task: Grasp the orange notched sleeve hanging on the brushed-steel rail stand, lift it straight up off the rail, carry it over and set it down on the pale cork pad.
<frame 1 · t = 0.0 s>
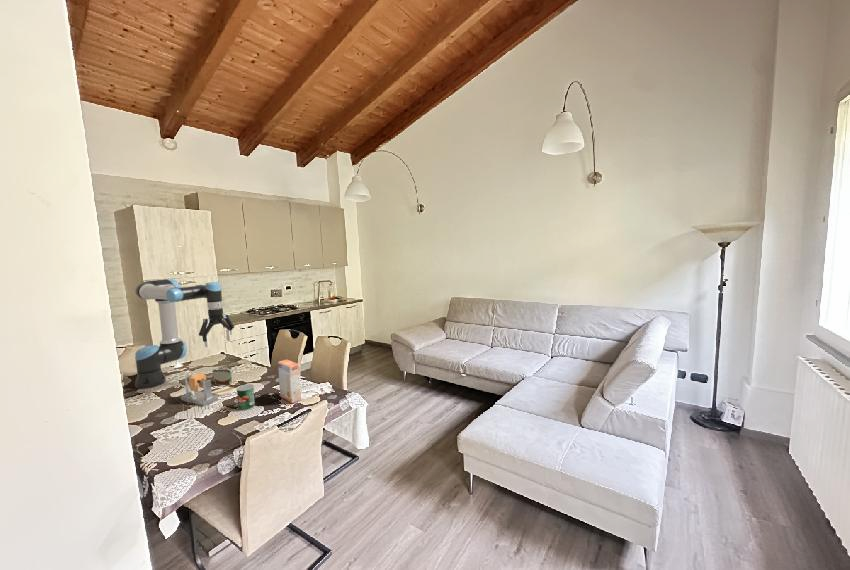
hand: (218, 343, 204), 28 cm above the table, fingers open, 13 cm apart
orange notched sleeve: (198, 388, 192), point 6 cm above the table, touching rail stand
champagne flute: (177, 366, 247), on the table
pad: (223, 391, 204), on the table
food container: (225, 383, 216), on the table
cracker box: (290, 398, 193), on the table
canned tomato: (246, 407, 184), on the table
rail stand: (199, 400, 193), on the table
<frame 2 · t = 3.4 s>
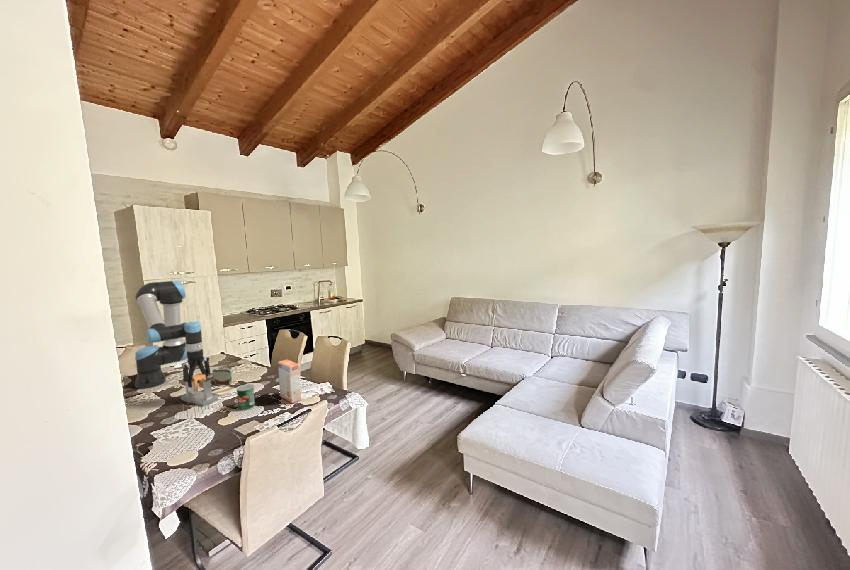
hand: (198, 390, 192), 6 cm above the table, fingers closed on orange notched sleeve, 6 cm apart
orange notched sleeve: (198, 388, 192), point 7 cm above the table, touching gripper, rail stand
everything else where it was.
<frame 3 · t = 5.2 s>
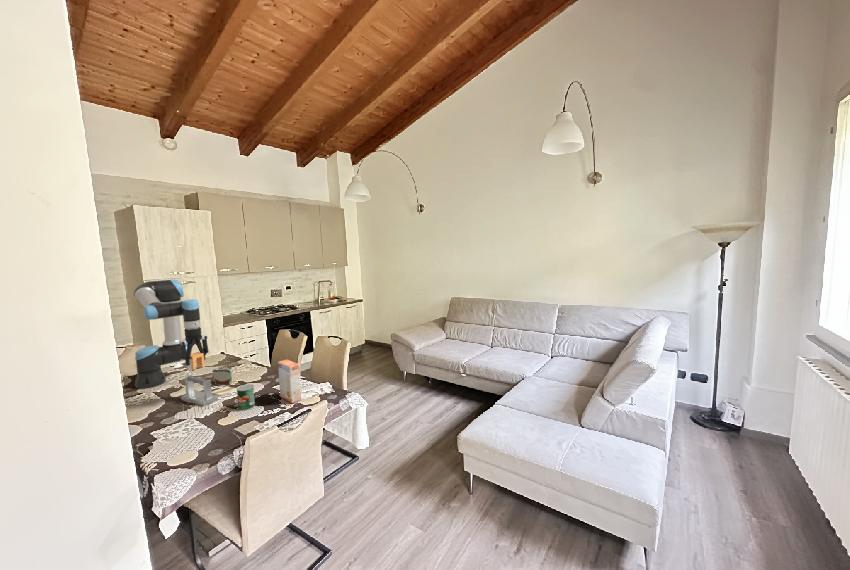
hand: (196, 368, 191), 18 cm above the table, fingers closed on orange notched sleeve, 6 cm apart
orange notched sleeve: (196, 367, 191), point 19 cm above the table, touching gripper
everything else where it was.
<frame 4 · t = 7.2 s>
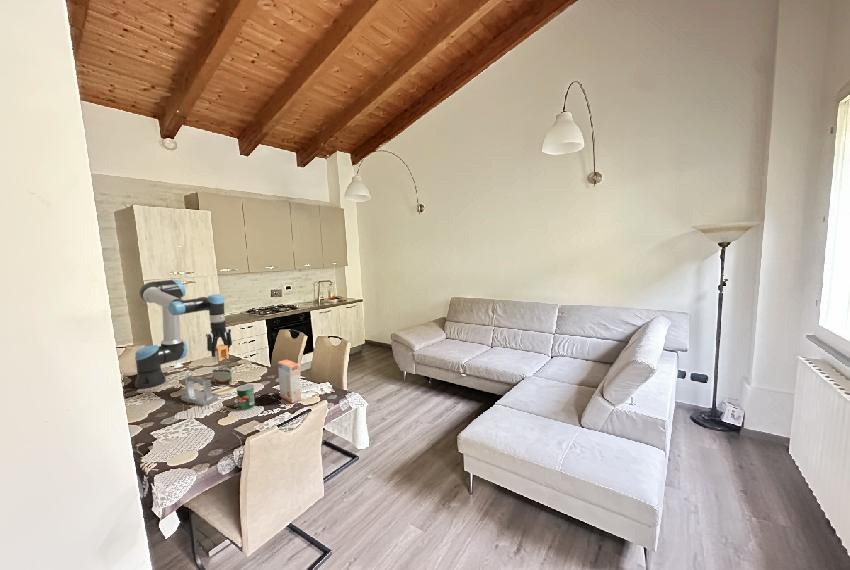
hand: (221, 359, 201), 19 cm above the table, fingers closed on orange notched sleeve, 6 cm apart
orange notched sleeve: (221, 358, 201), point 20 cm above the table, touching gripper
everything else where it was.
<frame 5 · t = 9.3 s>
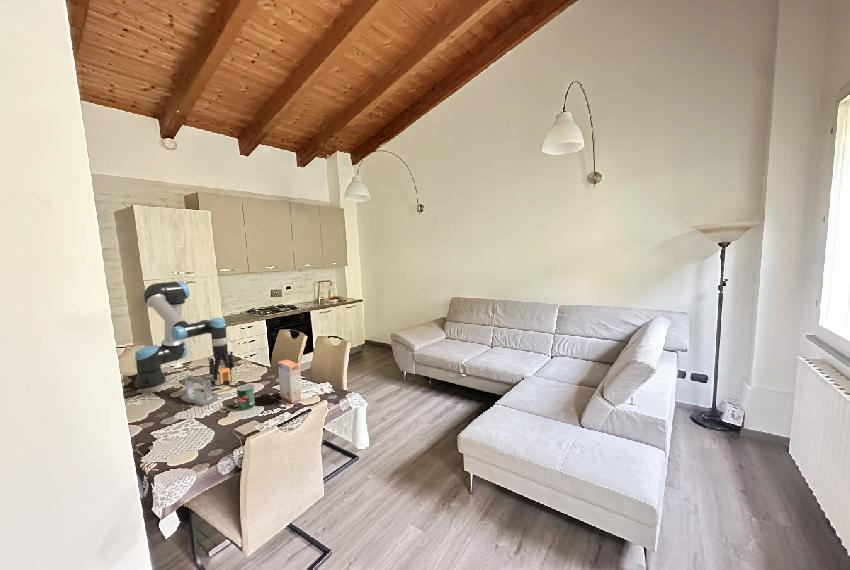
hand: (223, 382, 203), 6 cm above the table, fingers closed on orange notched sleeve, 6 cm apart
orange notched sleeve: (223, 381, 203), point 6 cm above the table, touching gripper
everything else where it was.
when the fingers open (2 cm above the table, at t = 10.9 s): orange notched sleeve drops 2 cm, resting on pad.
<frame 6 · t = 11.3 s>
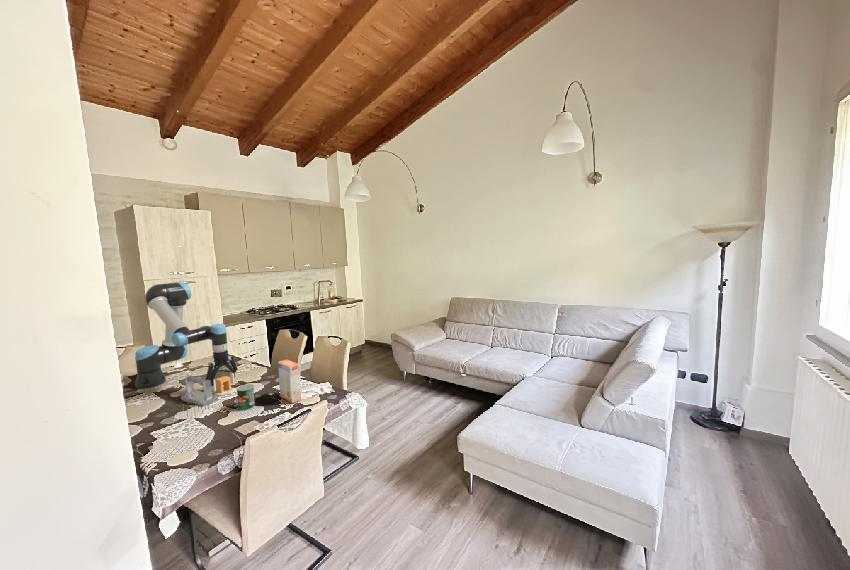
hand: (223, 386, 203), 3 cm above the table, fingers open, 11 cm apart
orange notched sleeve: (223, 390, 204), point 1 cm above the table, touching pad
everything else where it was.
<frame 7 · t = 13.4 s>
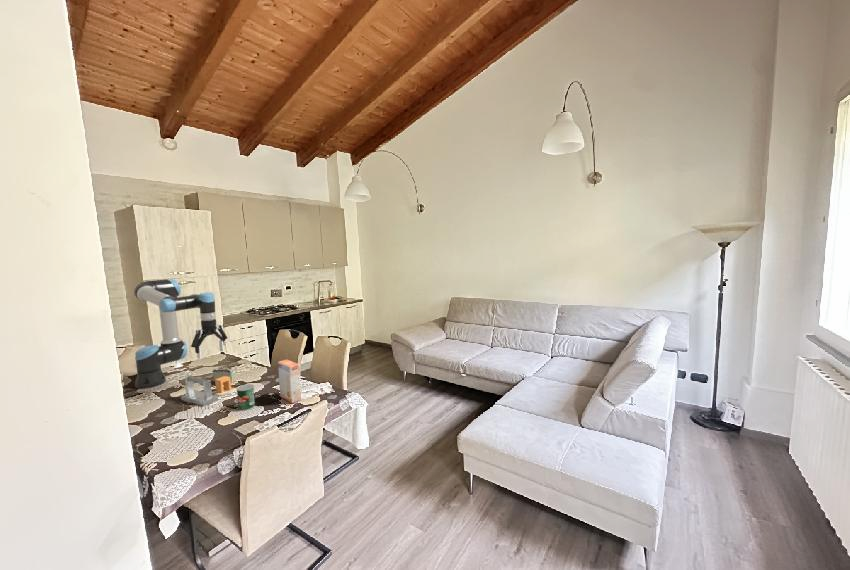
hand: (210, 354, 202), 22 cm above the table, fingers open, 13 cm apart
nothing on the table moved.
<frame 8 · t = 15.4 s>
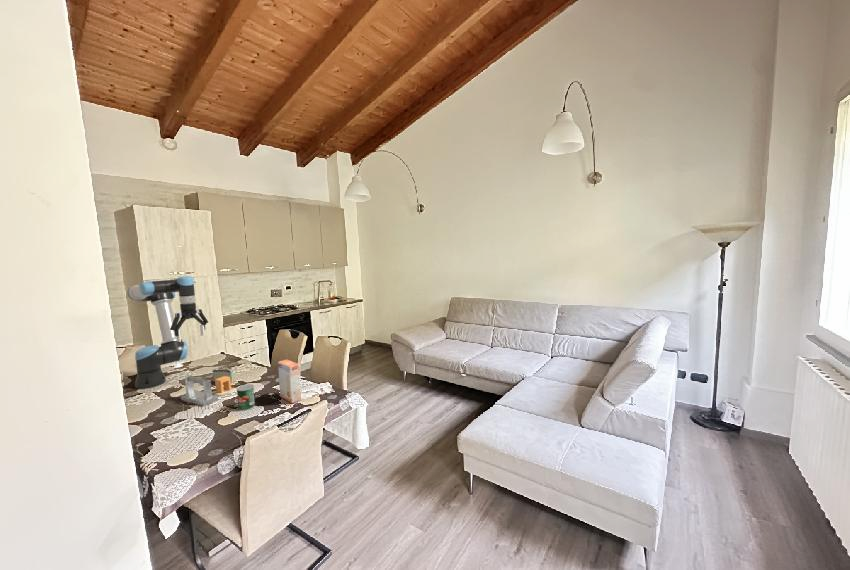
hand: (191, 338, 203), 32 cm above the table, fingers open, 13 cm apart
nothing on the table moved.
at the end: orange notched sleeve inside the target area on the pad (0.0 cm from its centre), point 0.6 cm above the pad's base; orange notched sleeve touching pad; the gripper is holding nothing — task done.
